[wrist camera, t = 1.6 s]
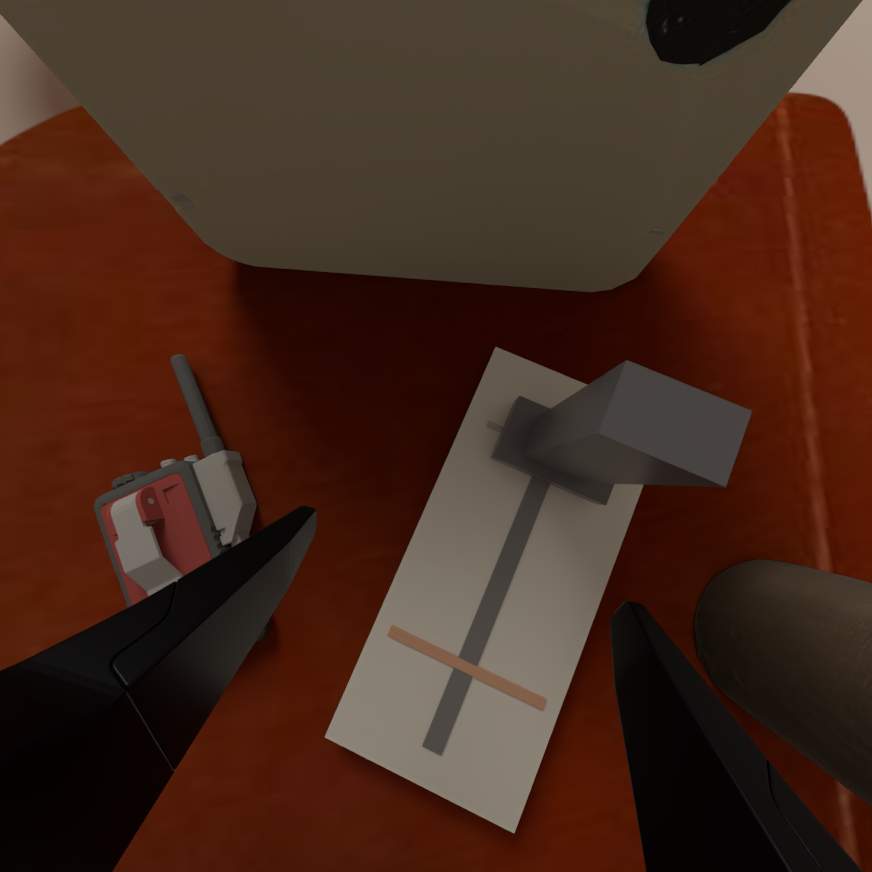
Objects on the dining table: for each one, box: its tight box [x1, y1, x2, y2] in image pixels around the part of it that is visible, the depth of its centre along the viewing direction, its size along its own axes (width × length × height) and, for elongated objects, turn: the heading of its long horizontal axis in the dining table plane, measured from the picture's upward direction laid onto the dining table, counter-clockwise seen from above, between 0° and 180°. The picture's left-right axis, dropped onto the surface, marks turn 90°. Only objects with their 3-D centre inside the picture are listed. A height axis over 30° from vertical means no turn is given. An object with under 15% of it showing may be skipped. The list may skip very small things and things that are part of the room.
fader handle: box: [490, 360, 752, 505], centre depth 16 cm, size 4×7×12 cm, turn 66°
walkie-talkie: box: [94, 354, 270, 642], centre depth 22 cm, size 9×4×20 cm
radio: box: [0, 0, 862, 292], centre depth 14 cm, size 30×8×25 cm, turn 85°
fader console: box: [325, 347, 643, 833], centre depth 22 cm, size 26×12×2 cm, turn 156°
